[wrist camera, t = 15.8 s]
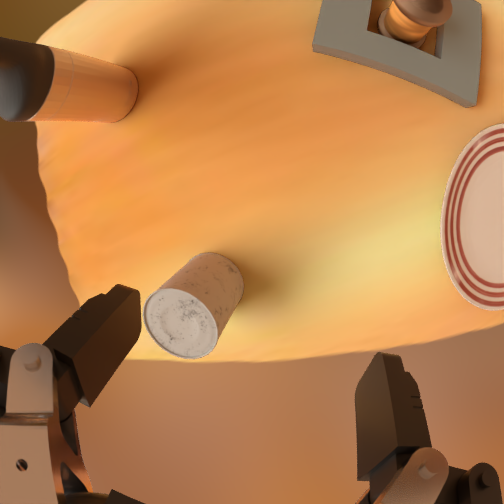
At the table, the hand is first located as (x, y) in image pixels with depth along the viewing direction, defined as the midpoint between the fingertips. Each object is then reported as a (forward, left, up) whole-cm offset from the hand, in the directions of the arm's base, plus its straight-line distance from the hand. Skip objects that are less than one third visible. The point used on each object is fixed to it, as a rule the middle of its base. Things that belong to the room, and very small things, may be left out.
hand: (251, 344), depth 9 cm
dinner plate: (+31, +8, -31) cm, 45 cm away
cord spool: (+7, +27, -31) cm, 42 cm away
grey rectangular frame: (+8, +29, -31) cm, 43 cm away
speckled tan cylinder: (-9, -15, -31) cm, 36 cm away
